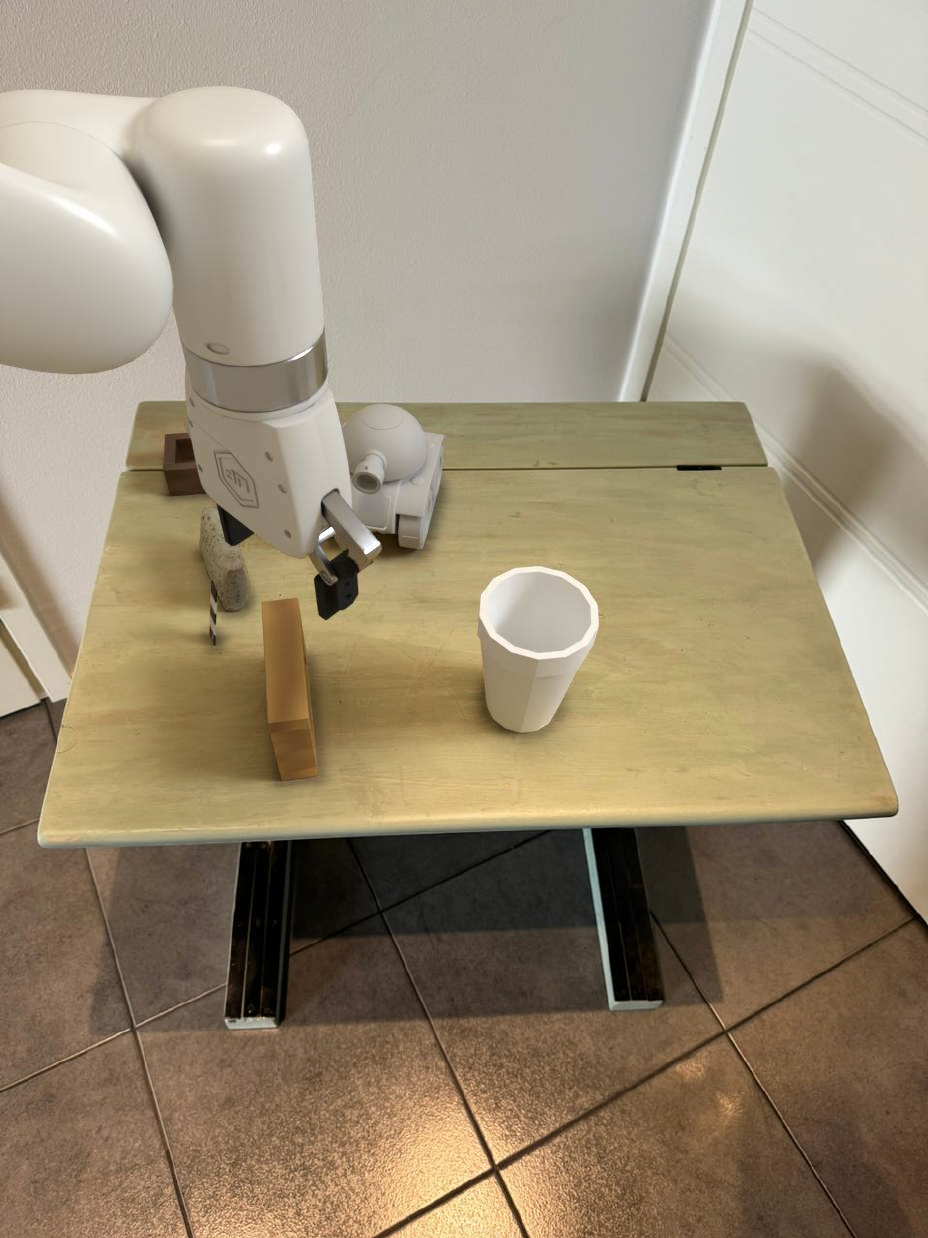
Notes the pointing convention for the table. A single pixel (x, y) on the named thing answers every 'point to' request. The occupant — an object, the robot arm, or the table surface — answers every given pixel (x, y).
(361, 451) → the toy tank
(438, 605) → the table surface
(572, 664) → the foam cup
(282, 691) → the frame
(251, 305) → the robot arm
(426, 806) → the table surface
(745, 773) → the table surface
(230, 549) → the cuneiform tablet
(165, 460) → the holder
